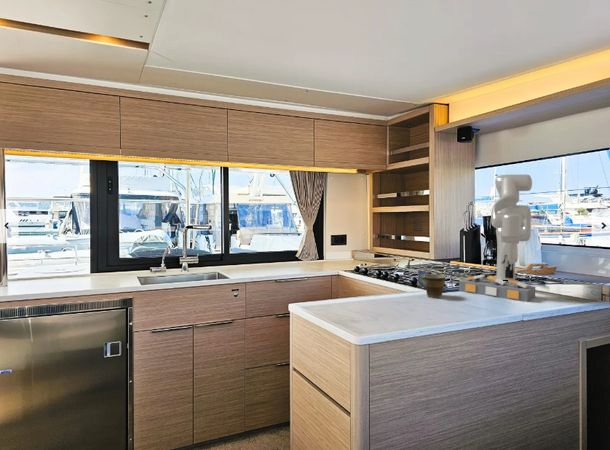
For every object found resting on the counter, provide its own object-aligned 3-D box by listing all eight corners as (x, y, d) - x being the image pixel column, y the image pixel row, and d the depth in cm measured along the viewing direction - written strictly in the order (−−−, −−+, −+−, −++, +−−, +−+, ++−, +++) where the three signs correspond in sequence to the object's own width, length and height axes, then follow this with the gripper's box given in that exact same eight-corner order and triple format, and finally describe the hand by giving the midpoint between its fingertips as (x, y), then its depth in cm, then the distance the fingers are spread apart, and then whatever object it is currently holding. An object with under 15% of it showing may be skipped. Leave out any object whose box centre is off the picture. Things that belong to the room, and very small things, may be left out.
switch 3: (510, 281, 205) (511, 278, 204) (527, 287, 199) (528, 284, 199) (507, 282, 202) (508, 279, 201) (524, 289, 197) (525, 286, 196)
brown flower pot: (442, 294, 208) (442, 274, 207) (447, 299, 198) (447, 278, 198) (415, 293, 209) (415, 273, 209) (419, 298, 200) (419, 277, 199)
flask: (416, 285, 227) (416, 266, 226) (420, 285, 228) (420, 265, 228) (428, 289, 219) (429, 268, 218) (433, 288, 220) (433, 268, 219)
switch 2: (489, 278, 212) (490, 275, 211) (505, 284, 206) (506, 281, 206) (486, 279, 209) (487, 276, 208) (502, 286, 204) (503, 283, 203)
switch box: (468, 286, 223) (469, 275, 223) (535, 297, 201) (535, 283, 201) (458, 291, 214) (458, 278, 214) (526, 302, 192) (527, 288, 192)
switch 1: (470, 280, 218) (469, 277, 219) (485, 277, 213) (484, 274, 213) (467, 281, 216) (466, 278, 216) (482, 278, 210) (481, 275, 210)
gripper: (507, 238, 210) (506, 274, 211) (496, 240, 199) (495, 279, 200) (523, 239, 204) (522, 276, 206) (513, 241, 194) (512, 281, 195)
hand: (509, 277), depth 203 cm, fingers closed
